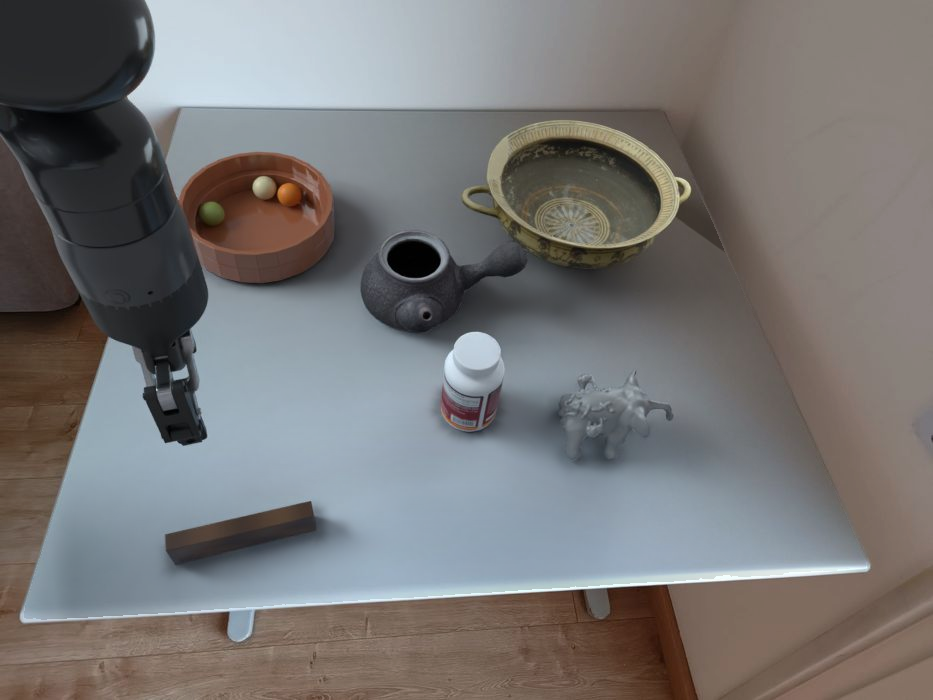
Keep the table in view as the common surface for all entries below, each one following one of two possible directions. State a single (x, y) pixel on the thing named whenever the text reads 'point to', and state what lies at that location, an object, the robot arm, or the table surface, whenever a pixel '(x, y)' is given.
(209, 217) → the ball olive
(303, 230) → the bowl
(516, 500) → the table surface
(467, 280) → the teapot
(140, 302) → the robot arm
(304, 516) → the stick
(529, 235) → the ceramic bowl
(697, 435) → the table surface
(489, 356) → the pill bottle
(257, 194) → the ball cream
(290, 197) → the ball orange
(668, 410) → the gray elephant figurine
